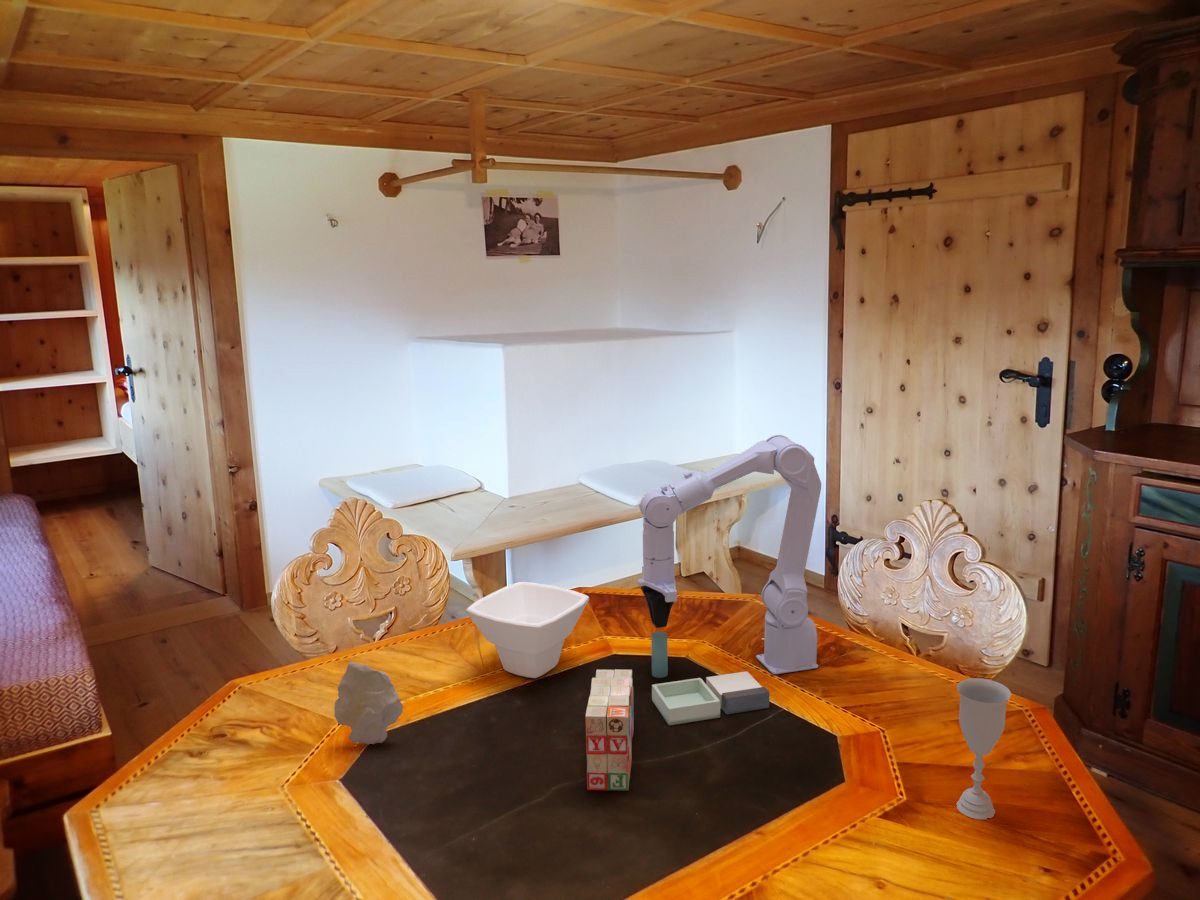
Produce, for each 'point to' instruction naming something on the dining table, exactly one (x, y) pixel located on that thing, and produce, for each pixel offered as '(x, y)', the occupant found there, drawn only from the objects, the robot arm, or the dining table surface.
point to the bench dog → (745, 700)
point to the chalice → (980, 736)
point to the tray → (685, 701)
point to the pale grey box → (731, 683)
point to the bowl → (528, 624)
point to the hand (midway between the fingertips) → (659, 625)
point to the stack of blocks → (610, 730)
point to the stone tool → (367, 703)
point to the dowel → (659, 654)
